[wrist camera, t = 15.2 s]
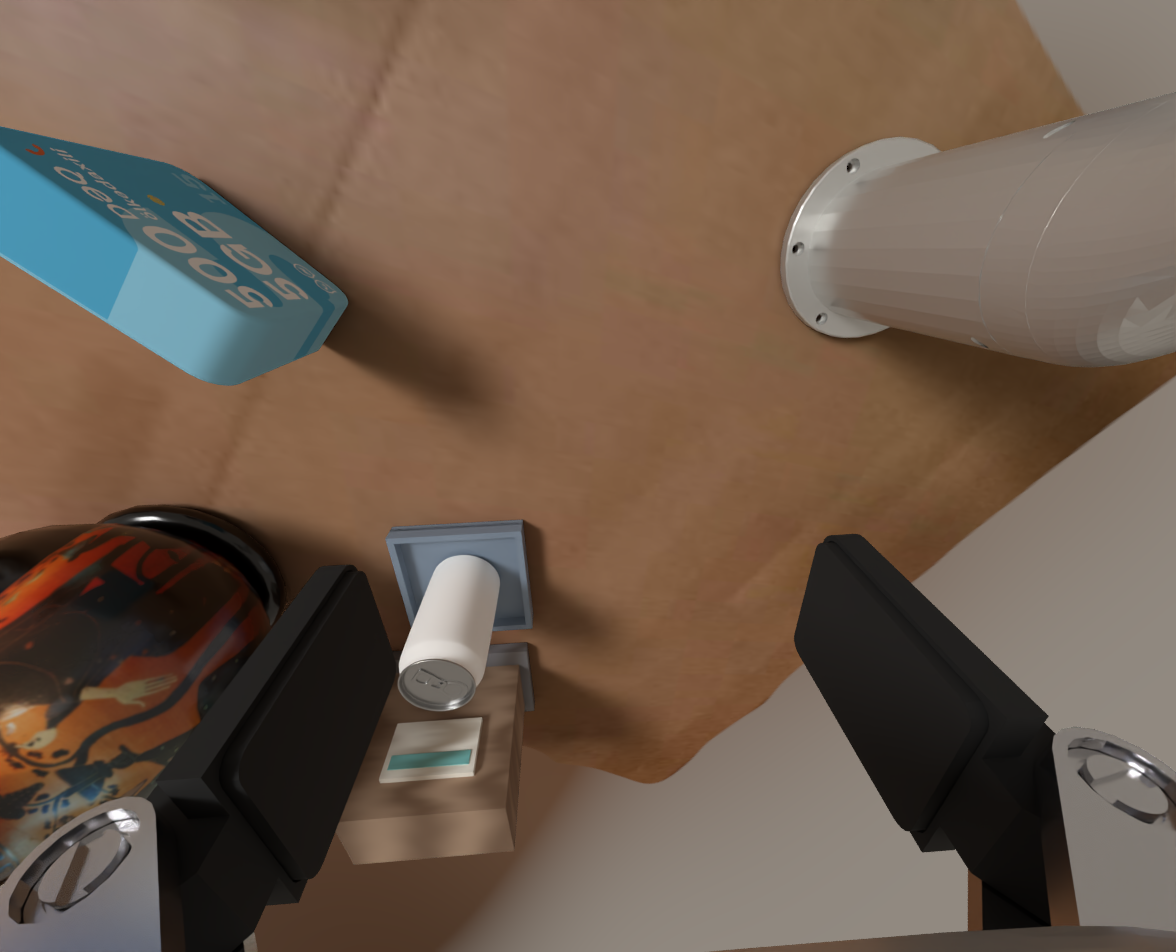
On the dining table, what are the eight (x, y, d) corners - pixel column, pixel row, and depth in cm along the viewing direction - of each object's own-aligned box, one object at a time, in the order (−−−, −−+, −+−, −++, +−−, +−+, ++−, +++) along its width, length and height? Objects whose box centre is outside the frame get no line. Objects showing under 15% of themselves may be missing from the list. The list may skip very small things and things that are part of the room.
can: (480, 612, 45) (456, 725, 34) (421, 586, 43) (376, 697, 32) (513, 570, 43) (497, 676, 32) (452, 541, 41) (415, 643, 30)
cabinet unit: (527, 642, 49) (515, 793, 35) (534, 701, 53) (526, 855, 40) (379, 652, 48) (309, 810, 34) (400, 711, 52) (345, 871, 39)
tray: (522, 519, 41) (521, 531, 40) (533, 614, 47) (532, 628, 45) (392, 526, 41) (385, 538, 39) (418, 622, 46) (413, 636, 45)
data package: (357, 301, 32) (257, 327, 21) (326, 348, 33) (218, 395, 23) (182, 164, 28) (-52, 111, 17) (155, 225, 29) (-77, 211, 18)
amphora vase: (354, 636, 47) (121, 1077, 22) (155, 666, 47) (-299, 1136, 22) (254, 453, 37) (-380, 881, 12) (3, 492, 37) (-1135, 992, 12)
